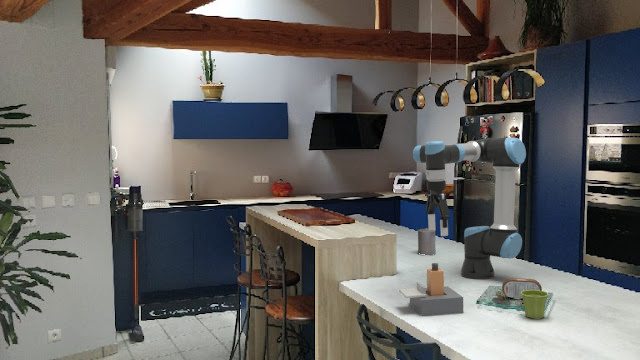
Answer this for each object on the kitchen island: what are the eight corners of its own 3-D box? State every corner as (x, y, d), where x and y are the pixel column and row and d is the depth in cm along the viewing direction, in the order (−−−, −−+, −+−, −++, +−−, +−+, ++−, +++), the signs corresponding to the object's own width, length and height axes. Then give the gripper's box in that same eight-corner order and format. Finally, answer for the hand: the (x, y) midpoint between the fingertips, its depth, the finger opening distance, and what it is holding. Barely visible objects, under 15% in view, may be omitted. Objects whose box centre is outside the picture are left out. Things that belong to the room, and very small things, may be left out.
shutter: (418, 289, 222) (418, 281, 222) (426, 296, 212) (426, 288, 212) (398, 291, 221) (398, 282, 221) (406, 298, 211) (405, 289, 211)
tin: (541, 299, 225) (541, 278, 224) (542, 301, 222) (542, 280, 221) (502, 297, 230) (502, 276, 229) (502, 299, 227) (501, 278, 226)
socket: (448, 300, 227) (447, 286, 227) (463, 312, 211) (463, 297, 211) (409, 303, 225) (409, 289, 225) (422, 316, 209) (422, 300, 209)
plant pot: (517, 312, 209) (517, 289, 209) (543, 312, 209) (542, 289, 208) (525, 321, 200) (525, 297, 199) (552, 320, 200) (552, 296, 199)
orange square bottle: (439, 300, 221) (438, 261, 220) (444, 304, 216) (443, 264, 215) (427, 301, 220) (426, 262, 219) (431, 305, 215) (430, 265, 214)
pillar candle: (416, 252, 322) (415, 226, 321) (432, 251, 323) (432, 225, 322) (421, 256, 313) (420, 229, 311) (438, 255, 314) (437, 228, 312)
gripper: (416, 178, 236) (418, 228, 238) (438, 183, 211) (440, 239, 213) (433, 177, 237) (435, 226, 239) (457, 182, 213) (459, 237, 214)
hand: (438, 232), depth 226 cm, fingers open, 13 cm apart
